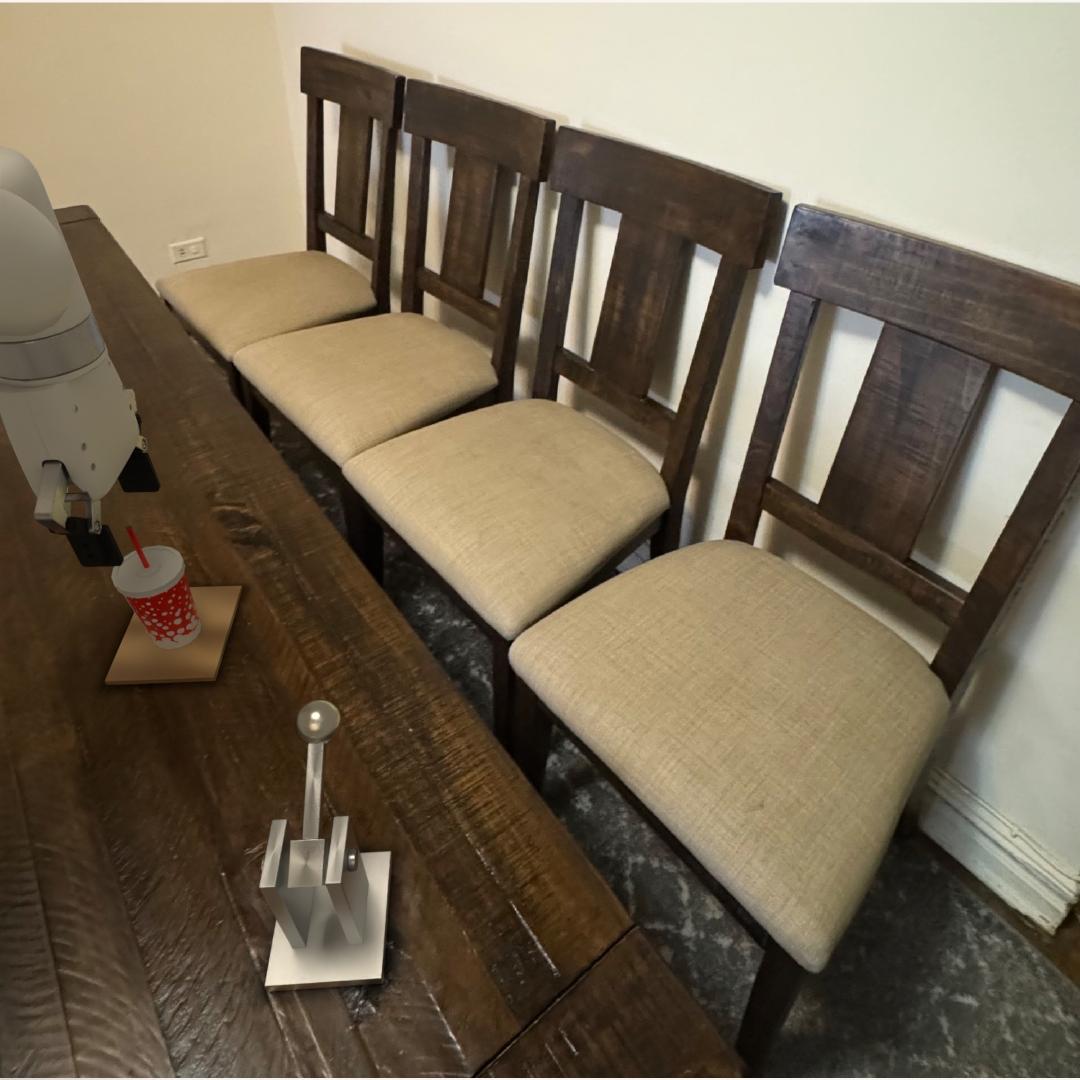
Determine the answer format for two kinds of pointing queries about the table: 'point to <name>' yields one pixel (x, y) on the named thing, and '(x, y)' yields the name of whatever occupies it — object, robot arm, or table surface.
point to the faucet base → (327, 914)
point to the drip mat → (188, 662)
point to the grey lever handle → (313, 794)
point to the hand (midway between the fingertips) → (124, 525)
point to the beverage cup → (158, 593)
